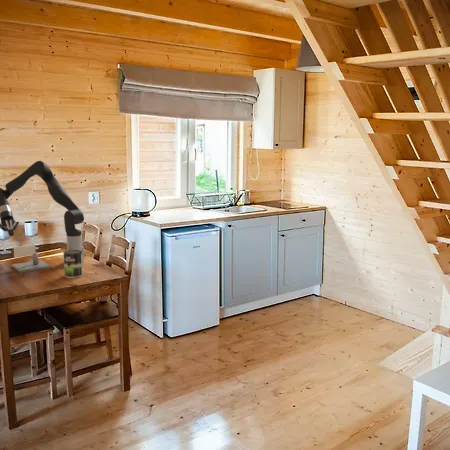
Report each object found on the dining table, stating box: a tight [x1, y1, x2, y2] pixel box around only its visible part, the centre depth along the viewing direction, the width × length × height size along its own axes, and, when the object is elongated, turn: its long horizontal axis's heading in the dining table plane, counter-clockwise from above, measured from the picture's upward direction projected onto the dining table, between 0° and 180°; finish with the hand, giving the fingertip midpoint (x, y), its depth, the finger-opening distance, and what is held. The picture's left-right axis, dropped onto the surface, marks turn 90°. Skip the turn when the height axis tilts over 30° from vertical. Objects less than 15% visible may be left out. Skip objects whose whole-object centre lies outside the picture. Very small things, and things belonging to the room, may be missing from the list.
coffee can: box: [63, 250, 84, 279], centre depth 292 cm, size 10×10×14 cm
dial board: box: [11, 259, 52, 274], centre depth 311 cm, size 18×18×2 cm
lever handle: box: [13, 244, 39, 264], centre depth 310 cm, size 14×3×12 cm, turn 125°
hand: (11, 235), depth 319 cm, fingers closed
